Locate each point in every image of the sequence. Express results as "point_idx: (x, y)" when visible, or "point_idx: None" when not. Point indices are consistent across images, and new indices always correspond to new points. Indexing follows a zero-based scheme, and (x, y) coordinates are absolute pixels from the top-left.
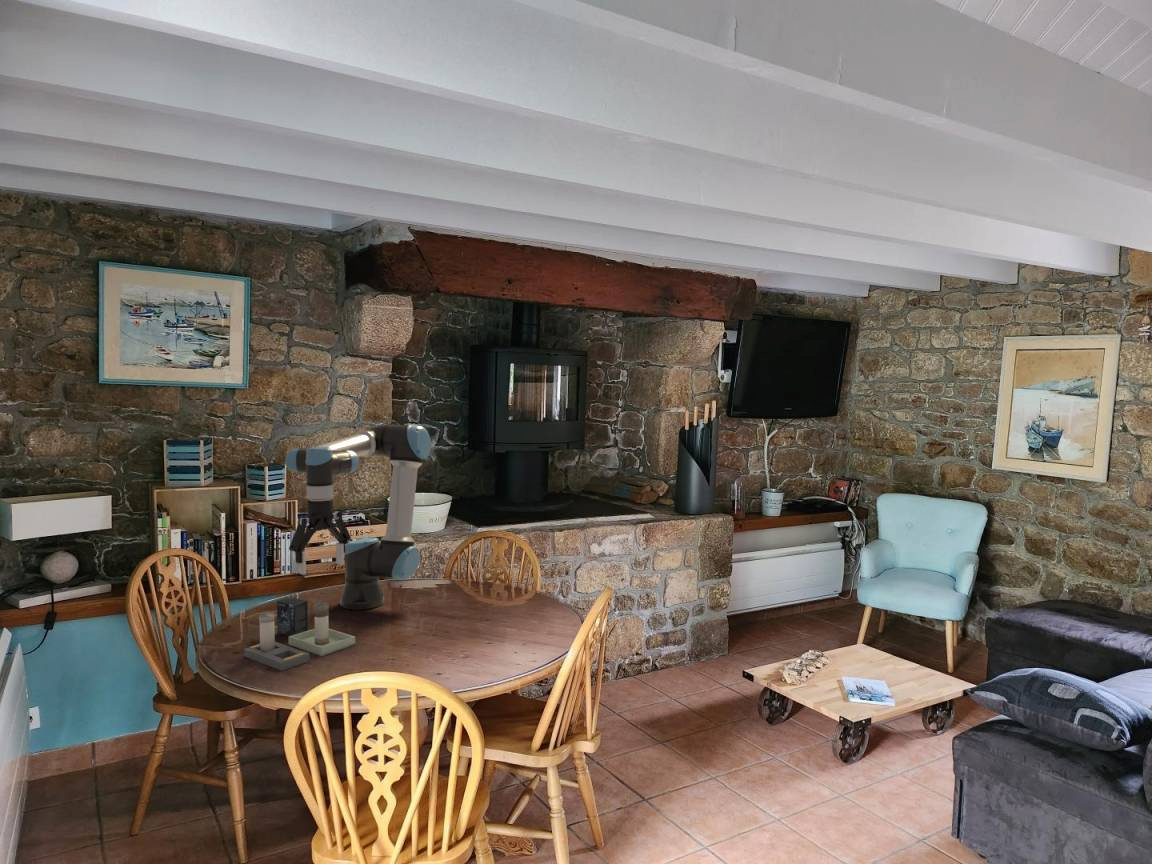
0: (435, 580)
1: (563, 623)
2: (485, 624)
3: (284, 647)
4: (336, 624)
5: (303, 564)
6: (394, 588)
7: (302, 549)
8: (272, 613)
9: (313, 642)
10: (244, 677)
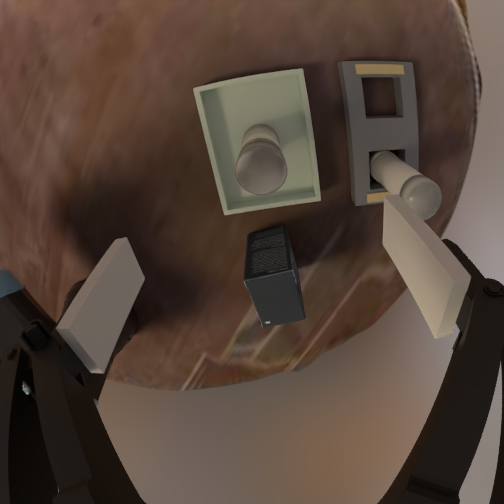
0: None
1: None
2: None
3: (362, 143)
4: (174, 244)
5: (424, 224)
6: None
7: (486, 299)
8: (408, 202)
9: None
10: (459, 94)
